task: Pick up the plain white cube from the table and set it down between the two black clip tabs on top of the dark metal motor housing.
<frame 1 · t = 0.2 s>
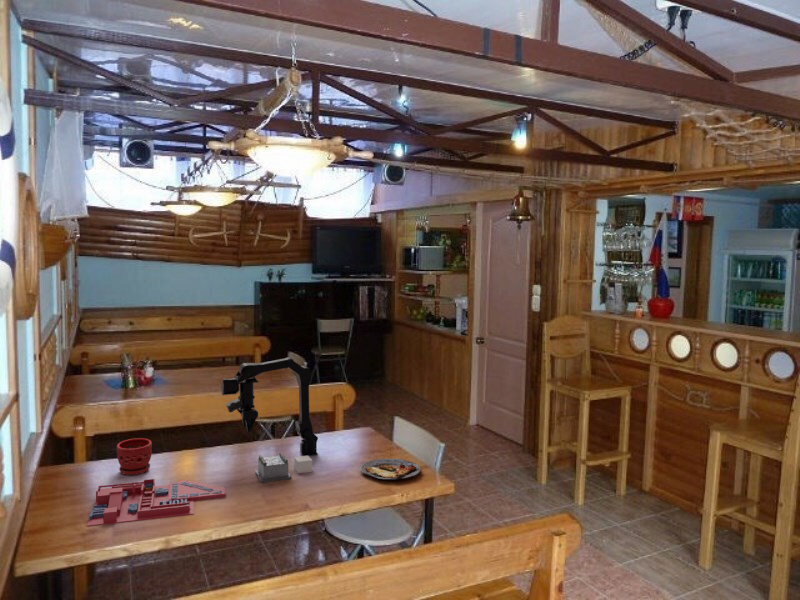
hand: (246, 428, 264), 14 cm above the table, fingers open, 9 cm apart
motor housing: (273, 475, 249), on the table
food plate: (390, 473, 256), on the table
plant pot: (134, 472, 251), on the table
plain white cube: (303, 470, 256), on the table
red architectural model: (161, 503, 222), on the table
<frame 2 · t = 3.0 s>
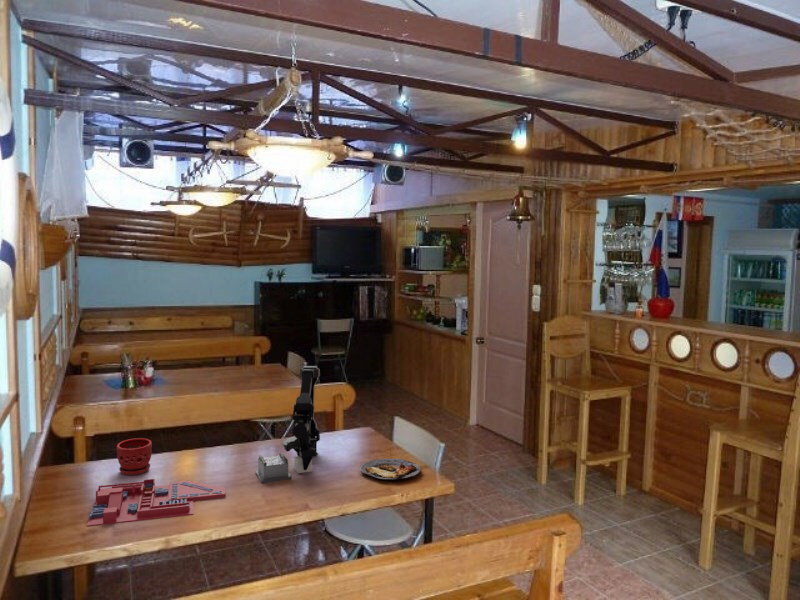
hand: (303, 467, 256), 1 cm above the table, fingers closed on plain white cube, 6 cm apart
plain white cube: (303, 469, 256), on the table, touching gripper
everything else where it was.
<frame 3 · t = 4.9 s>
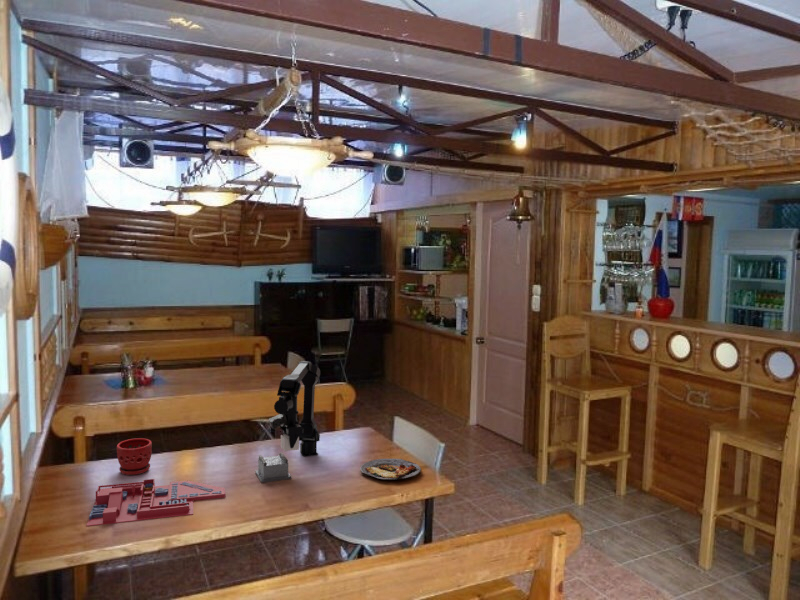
hand: (289, 445, 252), 11 cm above the table, fingers closed on plain white cube, 6 cm apart
plain white cube: (289, 448, 252), point 10 cm above the table, touching gripper
everything else where it was.
when the fingers open (8 cm above the table, at t = 6.9 s): plain white cube stays where it is, resting on motor housing.
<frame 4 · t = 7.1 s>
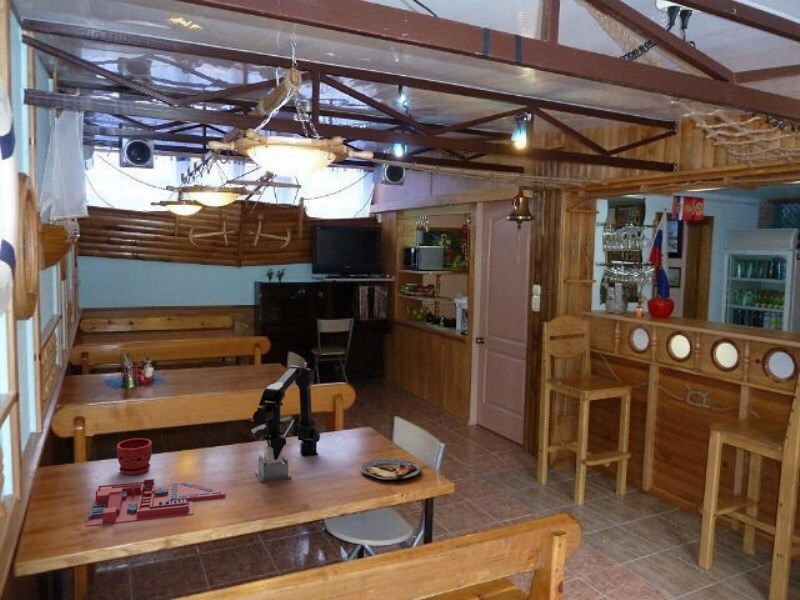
hand: (273, 456, 248), 8 cm above the table, fingers open, 8 cm apart
plain white cube: (273, 460, 249), point 6 cm above the table, touching motor housing
everything else where it was.
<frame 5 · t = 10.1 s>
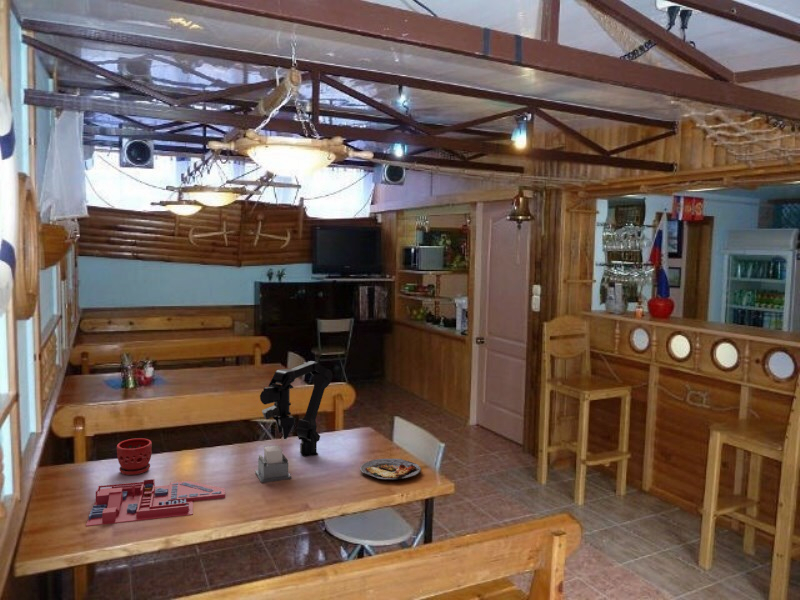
hand: (282, 435, 263), 12 cm above the table, fingers open, 9 cm apart
nothing on the table moved.
at the end: plain white cube 0.0 cm off-centre on the motor housing, point 6.2 cm above the motor housing's base; plain white cube tilted 0°; the gripper is holding nothing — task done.
